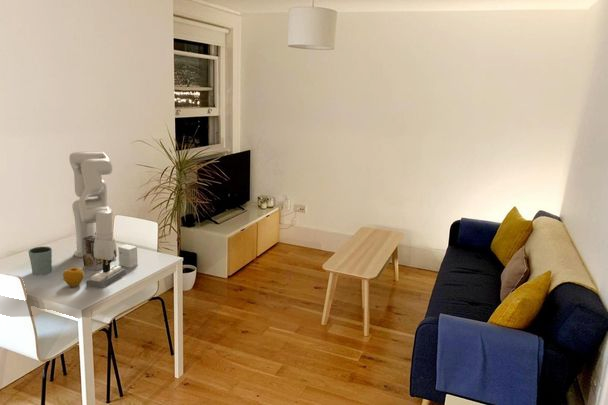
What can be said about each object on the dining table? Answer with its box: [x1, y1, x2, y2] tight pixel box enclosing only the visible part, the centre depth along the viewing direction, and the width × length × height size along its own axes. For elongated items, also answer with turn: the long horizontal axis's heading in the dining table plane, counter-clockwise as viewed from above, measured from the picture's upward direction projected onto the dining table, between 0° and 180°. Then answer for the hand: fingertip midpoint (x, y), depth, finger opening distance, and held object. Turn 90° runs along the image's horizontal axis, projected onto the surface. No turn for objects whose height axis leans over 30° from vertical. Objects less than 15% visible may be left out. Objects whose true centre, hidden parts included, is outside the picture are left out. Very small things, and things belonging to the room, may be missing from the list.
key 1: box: [90, 272, 106, 282], centre depth 219 cm, size 5×5×3 cm
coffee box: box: [82, 235, 103, 271], centre depth 238 cm, size 9×6×16 cm
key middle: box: [98, 270, 114, 277], centre depth 225 cm, size 5×5×3 cm
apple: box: [62, 267, 85, 288], centre depth 217 cm, size 9×9×9 cm
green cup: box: [27, 246, 53, 276], centre depth 229 cm, size 10×10×12 cm
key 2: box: [110, 264, 122, 273], centre depth 231 cm, size 5×5×3 cm
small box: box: [118, 244, 139, 269], centre depth 244 cm, size 8×6×10 cm
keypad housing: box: [85, 267, 127, 290], centre depth 225 cm, size 19×8×3 cm, turn 166°
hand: (106, 271), depth 224 cm, fingers closed
